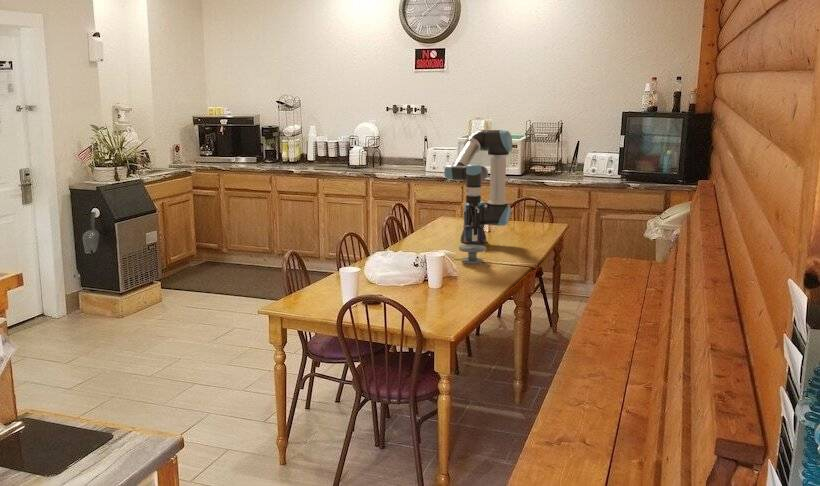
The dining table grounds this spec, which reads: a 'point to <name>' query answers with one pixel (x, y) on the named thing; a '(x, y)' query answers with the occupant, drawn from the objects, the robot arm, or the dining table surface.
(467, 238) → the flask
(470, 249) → the cake stand
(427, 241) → the dining table surface
